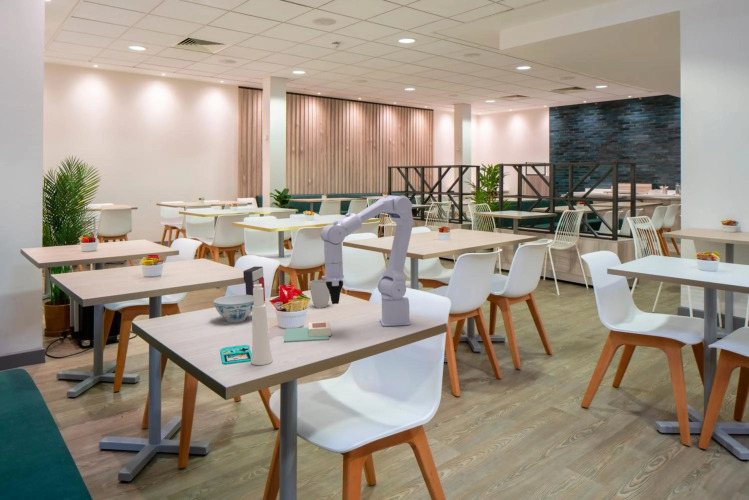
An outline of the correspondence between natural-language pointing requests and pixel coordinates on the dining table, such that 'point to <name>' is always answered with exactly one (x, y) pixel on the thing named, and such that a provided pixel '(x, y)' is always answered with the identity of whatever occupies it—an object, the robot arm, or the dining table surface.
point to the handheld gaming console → (235, 354)
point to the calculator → (253, 279)
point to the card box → (319, 329)
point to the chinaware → (234, 307)
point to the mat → (301, 335)
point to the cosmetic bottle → (260, 329)
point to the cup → (319, 293)
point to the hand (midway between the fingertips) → (335, 303)
